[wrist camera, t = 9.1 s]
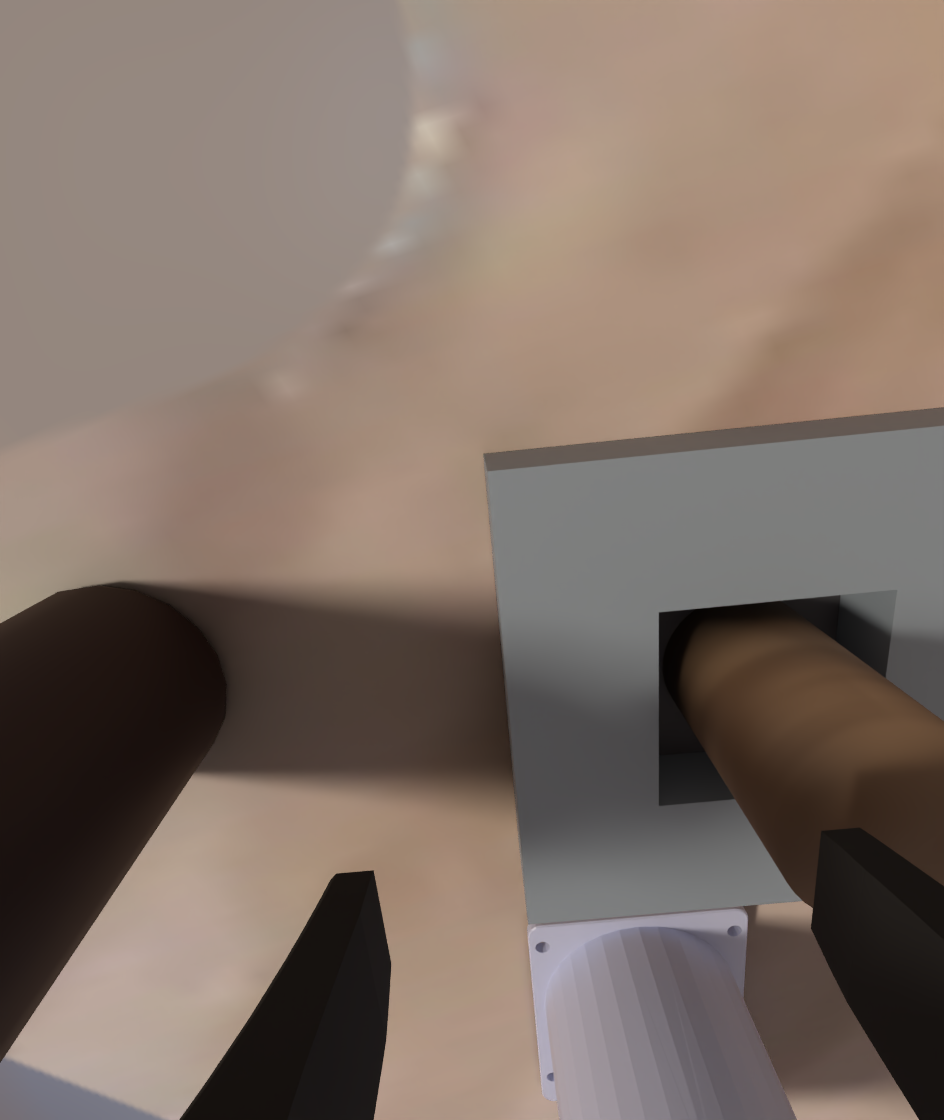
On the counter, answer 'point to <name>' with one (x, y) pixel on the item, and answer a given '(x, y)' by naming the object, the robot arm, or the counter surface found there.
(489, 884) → the counter surface
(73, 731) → the bottle
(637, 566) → the socket block
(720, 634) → the peg
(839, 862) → the robot arm
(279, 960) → the counter surface
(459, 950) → the counter surface
